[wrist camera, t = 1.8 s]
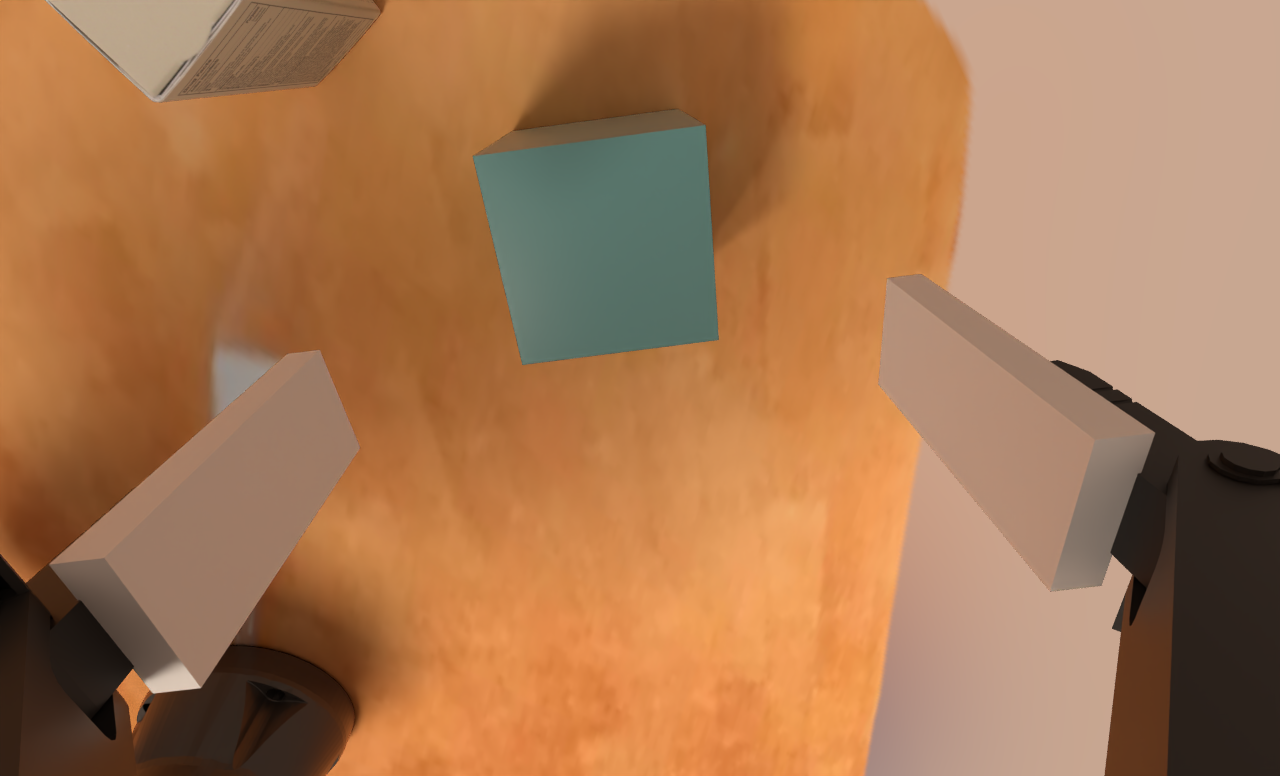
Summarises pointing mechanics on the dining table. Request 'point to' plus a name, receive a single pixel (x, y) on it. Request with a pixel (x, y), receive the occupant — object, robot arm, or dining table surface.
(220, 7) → the box
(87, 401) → the dining table surface
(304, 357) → the robot arm
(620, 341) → the teal block
